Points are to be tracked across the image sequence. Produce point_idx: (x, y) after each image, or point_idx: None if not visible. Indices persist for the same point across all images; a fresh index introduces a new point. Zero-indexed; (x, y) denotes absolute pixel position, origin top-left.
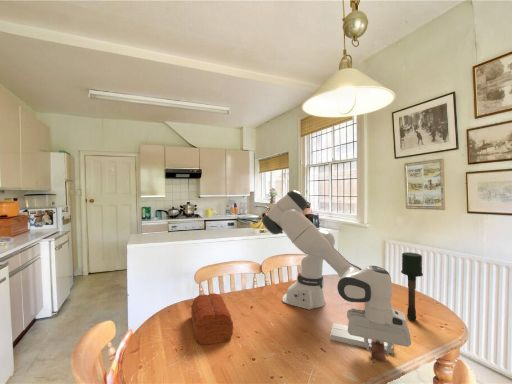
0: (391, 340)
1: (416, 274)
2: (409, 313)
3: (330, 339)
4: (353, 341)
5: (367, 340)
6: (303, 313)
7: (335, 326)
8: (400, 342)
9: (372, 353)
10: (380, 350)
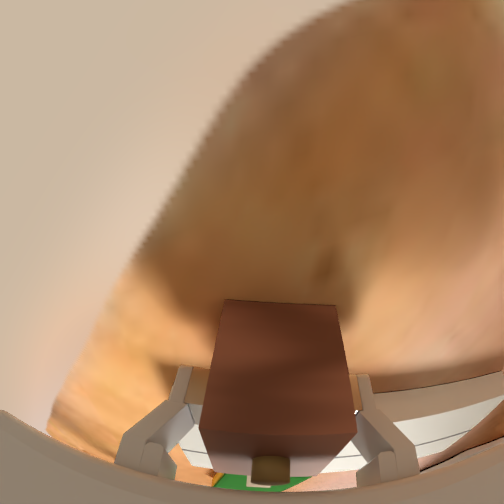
0: (100, 498)
1: None
2: None
3: (501, 371)
4: (415, 407)
5: (383, 458)
6: (490, 432)
7: (449, 442)
8: (28, 458)
9: (334, 348)
10: (249, 391)
